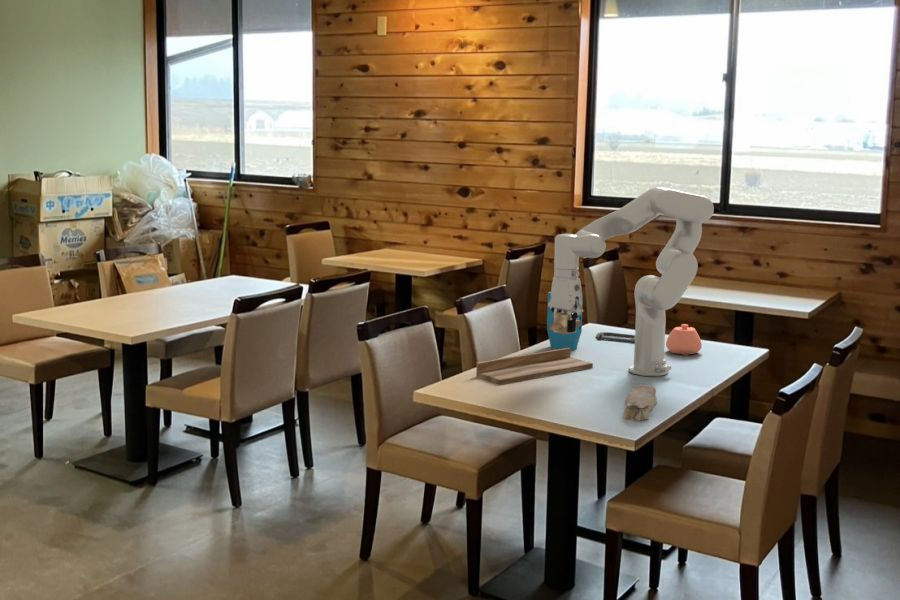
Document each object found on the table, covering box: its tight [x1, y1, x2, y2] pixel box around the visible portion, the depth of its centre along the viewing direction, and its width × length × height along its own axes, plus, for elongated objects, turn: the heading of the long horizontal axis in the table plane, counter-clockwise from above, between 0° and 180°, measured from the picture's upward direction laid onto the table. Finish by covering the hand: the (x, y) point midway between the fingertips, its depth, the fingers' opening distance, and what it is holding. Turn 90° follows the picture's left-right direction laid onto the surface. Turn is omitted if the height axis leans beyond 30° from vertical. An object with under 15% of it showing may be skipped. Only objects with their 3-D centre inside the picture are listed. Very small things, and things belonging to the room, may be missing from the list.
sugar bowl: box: [665, 323, 703, 357], centre depth 346 cm, size 12×14×10 cm
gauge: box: [549, 310, 581, 334], centre depth 309 cm, size 5×12×7 cm, turn 128°
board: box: [476, 348, 594, 385], centre depth 317 cm, size 12×39×4 cm, turn 125°
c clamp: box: [595, 331, 635, 344], centre depth 366 cm, size 20×17×3 cm
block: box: [546, 291, 584, 351], centre depth 350 cm, size 12×5×20 cm, turn 59°
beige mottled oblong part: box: [622, 384, 658, 422], centre depth 276 cm, size 24×8×5 cm, turn 162°
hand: (565, 329), depth 309 cm, fingers closed on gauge, 5 cm apart
